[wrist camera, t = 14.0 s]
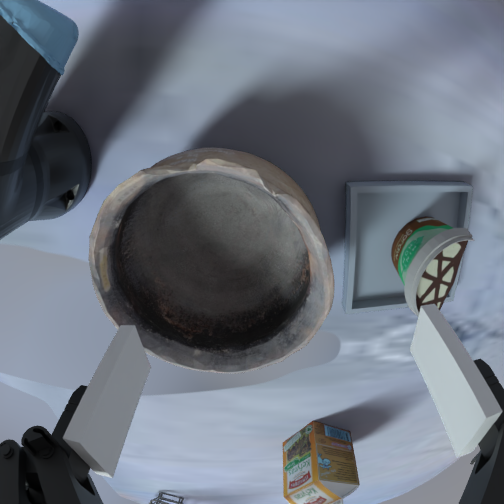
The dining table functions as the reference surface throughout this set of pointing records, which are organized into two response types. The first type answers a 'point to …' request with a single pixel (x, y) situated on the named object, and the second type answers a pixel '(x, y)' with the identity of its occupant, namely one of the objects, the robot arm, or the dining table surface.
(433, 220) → the food container
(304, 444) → the milk carton
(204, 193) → the ceramic bowl
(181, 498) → the geometric lantern
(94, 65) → the dining table surface
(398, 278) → the tray
